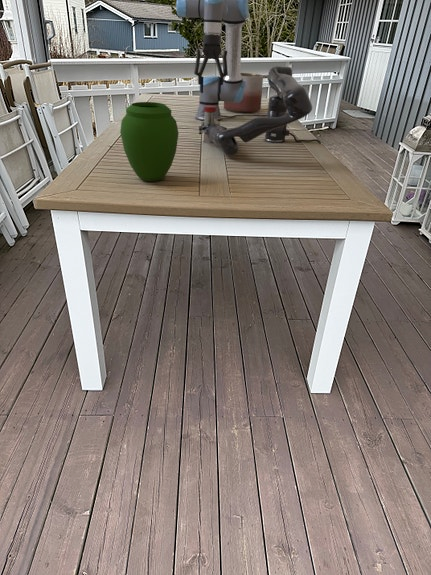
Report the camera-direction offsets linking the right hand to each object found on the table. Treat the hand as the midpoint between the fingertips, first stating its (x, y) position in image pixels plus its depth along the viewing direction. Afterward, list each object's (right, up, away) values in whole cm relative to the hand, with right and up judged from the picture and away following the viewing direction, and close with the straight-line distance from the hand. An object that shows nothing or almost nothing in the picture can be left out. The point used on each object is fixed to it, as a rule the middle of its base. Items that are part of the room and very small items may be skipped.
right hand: (207, 126), depth 198 cm
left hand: (+1, +12, -10) cm, 16 cm away
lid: (+1, +6, -7) cm, 10 cm away
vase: (-19, -39, -51) cm, 67 cm away
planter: (+22, +45, +85) cm, 98 cm away
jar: (0, -7, +1) cm, 7 cm away
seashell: (+1, +5, +19) cm, 20 cm away
